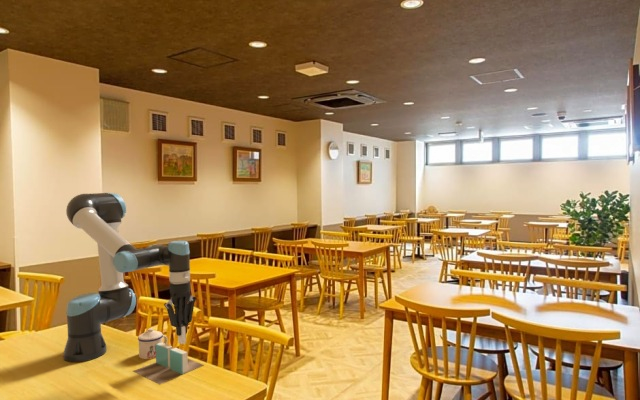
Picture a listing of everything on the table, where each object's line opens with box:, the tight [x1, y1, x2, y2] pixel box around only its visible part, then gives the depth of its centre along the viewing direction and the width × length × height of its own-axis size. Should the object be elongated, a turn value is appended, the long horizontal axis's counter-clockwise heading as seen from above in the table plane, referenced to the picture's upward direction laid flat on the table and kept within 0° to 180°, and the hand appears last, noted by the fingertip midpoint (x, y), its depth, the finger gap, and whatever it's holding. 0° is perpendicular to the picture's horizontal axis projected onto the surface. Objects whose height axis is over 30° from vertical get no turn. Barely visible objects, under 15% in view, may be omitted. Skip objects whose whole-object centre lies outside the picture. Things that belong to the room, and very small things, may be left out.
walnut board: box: [133, 358, 205, 385], centre depth 152 cm, size 17×18×2 cm
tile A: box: [155, 342, 174, 367], centre depth 156 cm, size 7×2×7 cm, turn 53°
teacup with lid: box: [137, 327, 168, 360], centre depth 166 cm, size 12×9×12 cm
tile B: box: [170, 347, 189, 375], centre depth 150 cm, size 7×2×7 cm, turn 53°
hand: (182, 342), depth 162 cm, fingers closed
